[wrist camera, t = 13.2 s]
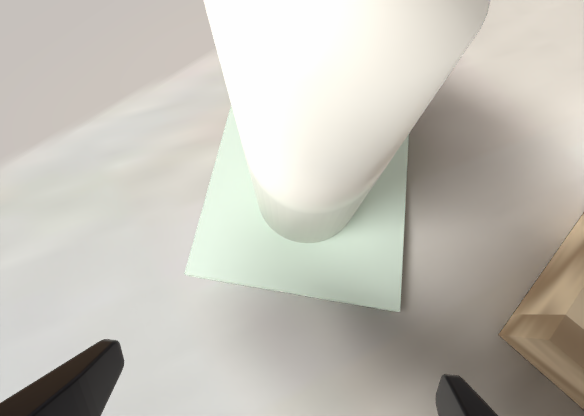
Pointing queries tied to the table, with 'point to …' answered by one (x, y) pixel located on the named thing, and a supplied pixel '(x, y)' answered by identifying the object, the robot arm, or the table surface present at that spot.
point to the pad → (294, 255)
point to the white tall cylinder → (331, 94)
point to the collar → (555, 319)
